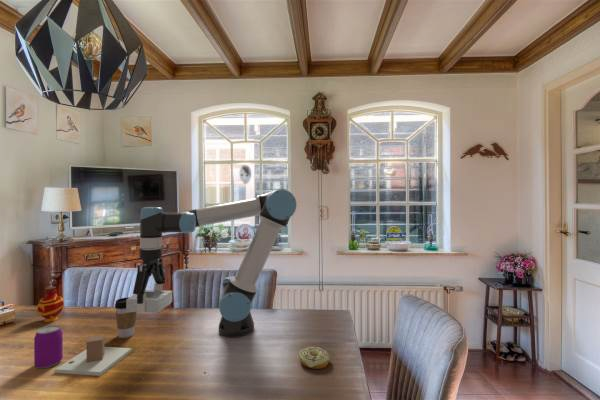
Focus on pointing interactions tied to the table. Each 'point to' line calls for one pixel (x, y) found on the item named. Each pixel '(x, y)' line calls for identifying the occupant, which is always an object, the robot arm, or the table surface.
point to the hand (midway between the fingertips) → (150, 306)
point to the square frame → (151, 301)
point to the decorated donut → (314, 357)
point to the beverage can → (48, 346)
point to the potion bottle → (50, 305)
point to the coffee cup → (124, 319)
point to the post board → (95, 365)
